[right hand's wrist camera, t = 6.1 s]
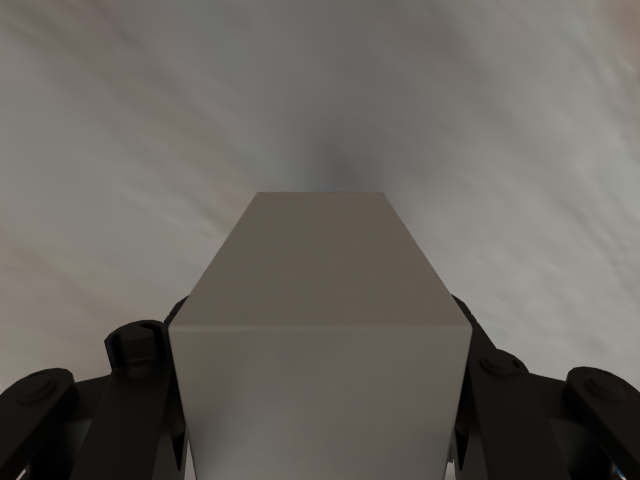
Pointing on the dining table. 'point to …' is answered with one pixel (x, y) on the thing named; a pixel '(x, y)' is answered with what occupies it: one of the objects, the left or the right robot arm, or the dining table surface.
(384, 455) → the bar
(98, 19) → the dining table surface
